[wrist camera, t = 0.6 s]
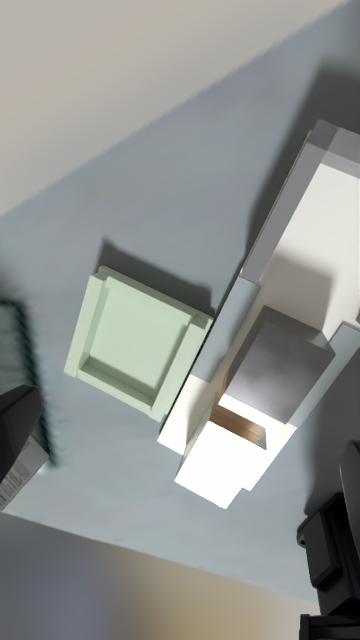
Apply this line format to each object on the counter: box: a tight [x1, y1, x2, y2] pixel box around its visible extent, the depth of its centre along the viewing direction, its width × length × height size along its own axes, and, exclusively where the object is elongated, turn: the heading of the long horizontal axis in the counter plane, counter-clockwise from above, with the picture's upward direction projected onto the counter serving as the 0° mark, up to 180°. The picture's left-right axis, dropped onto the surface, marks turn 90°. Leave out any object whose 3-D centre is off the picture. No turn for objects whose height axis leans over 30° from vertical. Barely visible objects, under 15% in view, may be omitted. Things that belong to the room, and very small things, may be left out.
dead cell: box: [175, 392, 267, 508], centre depth 21 cm, size 4×6×4 cm, turn 158°
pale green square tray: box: [64, 265, 214, 422], centre depth 22 cm, size 9×9×2 cm
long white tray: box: [157, 119, 360, 491], centre depth 18 cm, size 9×24×3 cm, turn 158°
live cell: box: [219, 305, 336, 434], centre depth 18 cm, size 4×6×4 cm, turn 158°
